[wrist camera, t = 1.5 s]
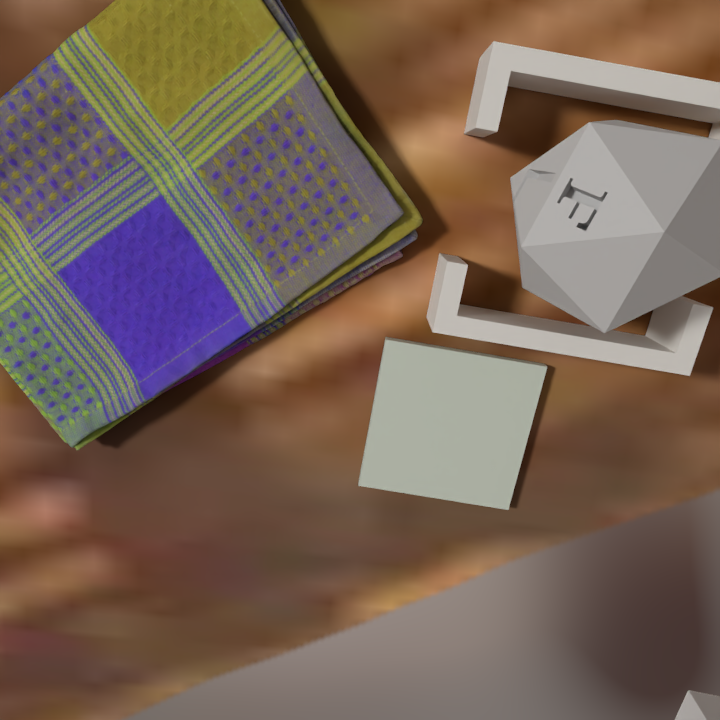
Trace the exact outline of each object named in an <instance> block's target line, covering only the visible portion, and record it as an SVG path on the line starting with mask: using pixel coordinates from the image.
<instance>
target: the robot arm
mask: <svg viewBox="0 0 720 720" xmlns="http://www.w3.org/2000/svg"><path fill="white" fill-rule="evenodd" d="M675 720H720V696H715V695H710V694H705V693H700V692H695V691H690V690H689V691H688V692H687V694H686V696H685V699H684V701H683V703H682V705H681V708H680V710H679V712H678V714H677V716H676V718H675Z"/></svg>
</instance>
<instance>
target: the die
mask: <svg viewBox="0 0 720 720" xmlns="http://www.w3.org/2000/svg"><path fill="white" fill-rule="evenodd" d="M510 180H511V189H512V198H513V207H514V216H515V225H516V234H517V244H518V253H519V262H520V271H521V280H522V288H524V289H526V290H528V291H529V292H531V293H533V294H535V295H537V296H538V297H540V298H542V299H544V300H546V301H547V302H549V303H551V304H553V305H555V306H556V307H558V308H560V309H562V310H564V311H565V312H567V313H569V314H571V315H573V316H574V317H576V318H578V319H580V320H582V321H583V322H585V323H587V324H589V325H591V326H592V327H594V328H596V329H598V330H600V331H601V332H603V333H606V332H608V331H610V330H612V329H615V328H617V327H619V326H621V325H623V324H625V323H627V322H629V321H631V320H633V319H635V318H637V317H639V316H641V315H643V314H645V313H647V312H649V311H651V310H653V309H656V308H658V307H660V306H662V305H664V304H666V303H668V302H670V301H672V300H674V299H676V298H678V297H680V296H682V295H684V294H686V293H688V292H690V291H692V290H694V289H696V288H699V287H701V286H703V285H705V284H707V283H709V282H711V281H713V280H715V279H717V278H719V277H720V140H717V139H712V138H707V137H702V136H697V135H692V134H687V133H682V132H677V131H671V130H666V129H661V128H656V127H651V126H646V125H641V124H636V123H631V122H625V121H620V120H608V121H597V122H589V123H588V124H586V125H585V126H583V127H582V128H580V129H579V130H578V131H576V132H575V133H573V134H572V135H570V136H569V137H568V138H566V139H565V140H563V141H562V142H560V143H559V144H558V145H556V146H555V147H553V148H552V149H551V150H549V151H548V152H546V153H545V154H543V155H542V156H541V157H539V158H538V159H536V160H535V161H533V162H532V163H531V164H529V165H528V166H526V167H525V168H523V169H522V170H521V171H519V172H518V173H516V174H515V175H513V176H512V177H511V178H510Z"/></svg>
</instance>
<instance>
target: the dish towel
mask: <svg viewBox="0 0 720 720" xmlns="http://www.w3.org/2000/svg"><path fill="white" fill-rule="evenodd" d="M422 222H423V219H422V217H421V214H420V212H419V211H418V209H417V208H416V206H415V205H414V203H413V202H412V200H411V199H410V198H409V196H408V195H407V194H406V192H405V191H404V190H403V188H402V187H401V185H400V184H399V183H398V181H397V180H396V178H395V177H394V175H393V174H392V173H391V171H390V170H389V169H388V167H387V166H386V164H385V163H384V162H383V160H382V159H381V158H380V157H379V156H378V154H377V153H376V152H375V150H374V149H373V148H372V146H371V145H370V144H369V143H368V142H367V141H366V139H365V138H364V137H363V135H362V134H361V132H360V131H359V130H358V128H357V127H356V126H355V124H354V123H353V121H352V120H351V118H350V117H349V115H348V114H347V112H346V111H345V109H344V108H343V106H342V105H341V103H340V102H339V100H338V99H337V97H336V96H335V94H334V92H333V90H332V88H331V87H330V85H329V84H328V82H327V81H326V79H325V78H324V76H323V74H322V73H321V71H320V69H319V67H318V65H317V63H316V62H315V60H314V58H313V57H312V55H311V53H310V51H309V49H308V48H307V46H306V44H305V42H304V40H303V39H302V37H301V35H300V33H299V31H298V30H297V28H296V26H295V24H294V23H293V21H292V19H291V18H290V16H289V14H288V13H287V11H286V10H285V8H284V6H283V5H282V3H281V1H280V0H115V1H114V2H113V3H111V4H110V5H109V6H108V7H107V8H106V9H104V10H103V11H102V12H101V13H100V14H99V15H98V16H97V17H95V18H94V19H93V20H91V21H90V22H89V23H88V24H87V25H85V26H84V27H82V28H81V29H79V30H77V31H76V32H75V33H74V34H72V35H71V36H70V37H69V38H68V39H67V40H65V41H64V42H63V43H62V44H61V45H60V46H59V47H58V49H57V50H56V51H55V52H54V53H53V54H51V55H49V56H48V57H47V58H46V59H44V60H43V61H42V62H41V63H40V64H39V65H38V66H37V67H35V68H34V69H33V70H32V71H31V72H30V73H29V74H28V75H27V76H26V77H25V78H24V79H22V80H21V81H19V82H18V83H17V84H16V85H15V86H14V87H13V88H12V89H11V90H10V91H9V92H7V93H6V94H5V95H4V96H3V97H1V98H0V363H1V364H2V365H3V367H4V368H5V369H6V370H7V372H8V373H9V374H10V376H11V377H12V378H13V380H14V381H15V382H16V383H17V384H18V386H19V387H20V388H21V389H22V390H23V391H24V393H25V394H26V395H27V396H28V398H29V399H30V400H31V401H32V403H33V404H34V405H35V406H36V408H37V409H38V410H39V411H40V413H41V414H42V415H43V417H44V418H45V419H46V420H47V421H48V422H49V424H50V425H51V426H52V428H53V429H54V430H55V431H56V432H57V434H58V435H59V436H60V437H61V439H62V440H63V441H64V442H65V443H68V444H69V446H70V447H75V448H76V449H77V450H79V449H80V448H82V447H83V446H85V445H86V444H88V443H89V442H91V441H92V440H94V439H96V438H98V437H99V436H100V435H102V434H103V433H105V432H106V431H108V430H109V429H111V428H112V427H114V426H115V425H116V424H118V423H119V422H121V421H122V420H124V419H125V418H127V417H128V416H130V415H131V414H133V413H134V412H135V411H137V410H138V409H140V408H141V407H143V406H145V405H146V404H148V403H149V402H151V401H152V400H154V399H155V398H157V397H158V396H160V395H161V394H162V393H164V392H166V391H168V390H170V389H171V388H173V387H175V386H177V385H179V384H181V383H183V382H185V381H186V380H188V379H190V378H192V377H194V376H196V375H198V374H200V373H201V372H203V371H205V370H207V369H209V368H210V367H212V366H214V365H216V364H218V363H220V362H222V361H223V360H225V359H227V358H229V357H230V356H232V355H234V354H236V353H237V352H239V351H241V350H242V349H244V348H246V347H248V346H250V345H251V344H253V343H255V342H257V341H259V340H261V339H263V338H265V337H266V336H268V335H270V334H271V333H273V332H274V331H276V330H278V329H279V328H281V327H283V326H284V325H286V324H287V323H288V322H290V321H292V320H294V319H295V318H297V317H298V316H300V315H302V314H303V313H305V312H307V311H309V310H311V309H312V308H314V307H315V306H317V305H319V304H322V303H324V302H326V301H327V300H328V299H330V298H332V297H333V296H335V295H337V294H339V293H340V292H342V291H343V290H345V289H347V288H348V287H350V286H352V285H354V284H356V283H358V282H359V281H360V280H362V279H363V278H365V277H368V276H370V275H371V274H372V273H374V272H375V271H376V270H378V269H379V268H381V267H382V266H383V265H386V264H389V263H392V262H394V261H396V260H398V259H399V258H401V257H403V253H402V250H401V249H402V248H404V247H405V246H407V245H408V244H410V243H411V242H413V241H415V240H416V239H417V237H418V235H417V232H416V230H415V229H416V228H418V227H419V226H420V225H422Z"/></svg>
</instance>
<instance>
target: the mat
mask: <svg viewBox="0 0 720 720" xmlns="http://www.w3.org/2000/svg"><path fill="white" fill-rule="evenodd" d="M546 370H547V366H546V365H545V364H543V363H537V362H531V361H526V360H520V359H514V358H508V357H502V356H496V355H490V354H484V353H478V352H472V351H466V350H460V349H455V348H449V347H443V346H437V345H431V344H425V343H419V342H413V341H407V340H401V339H395V338H389V337H385V343H384V348H383V353H382V359H381V364H380V369H379V375H378V380H377V385H376V391H375V396H374V401H373V407H372V412H371V418H370V423H369V428H368V434H367V439H366V444H365V450H364V455H363V460H362V466H361V471H360V476H359V485H358V486H364V487H370V488H376V489H382V490H388V491H395V492H401V493H407V494H413V495H419V496H425V497H432V498H438V499H444V500H450V501H456V502H462V503H469V504H475V505H481V506H487V507H493V508H500V509H506V510H509V506H510V502H511V499H512V495H513V491H514V488H515V484H516V480H517V477H518V473H519V469H520V466H521V462H522V458H523V455H524V451H525V447H526V444H527V440H528V436H529V433H530V429H531V425H532V422H533V418H534V414H535V411H536V407H537V403H538V400H539V396H540V392H541V389H542V385H543V381H544V378H545V374H546Z"/></svg>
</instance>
